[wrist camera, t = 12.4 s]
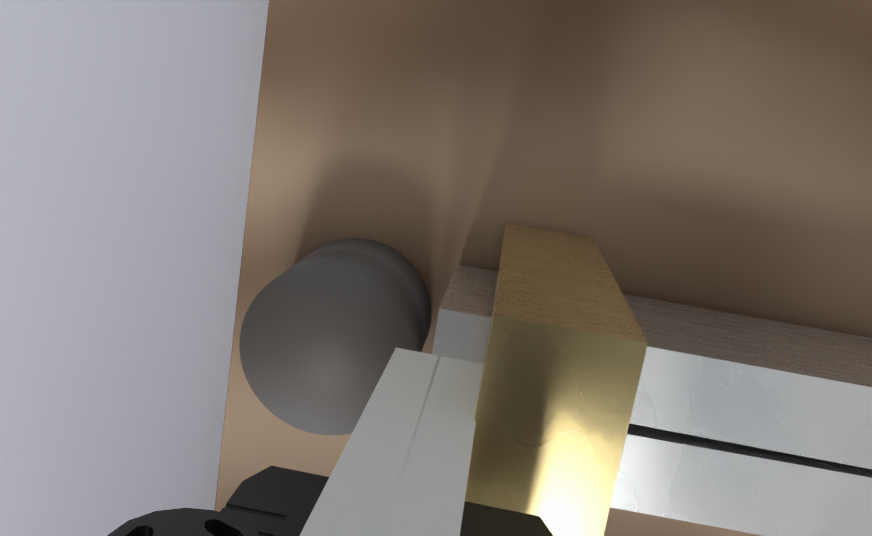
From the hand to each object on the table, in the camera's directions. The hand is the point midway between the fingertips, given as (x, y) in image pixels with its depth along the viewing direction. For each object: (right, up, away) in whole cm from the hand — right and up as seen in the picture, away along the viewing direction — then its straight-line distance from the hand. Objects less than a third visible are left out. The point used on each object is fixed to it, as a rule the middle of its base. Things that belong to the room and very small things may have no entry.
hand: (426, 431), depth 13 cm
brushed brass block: (+2, +1, +5) cm, 6 cm away
